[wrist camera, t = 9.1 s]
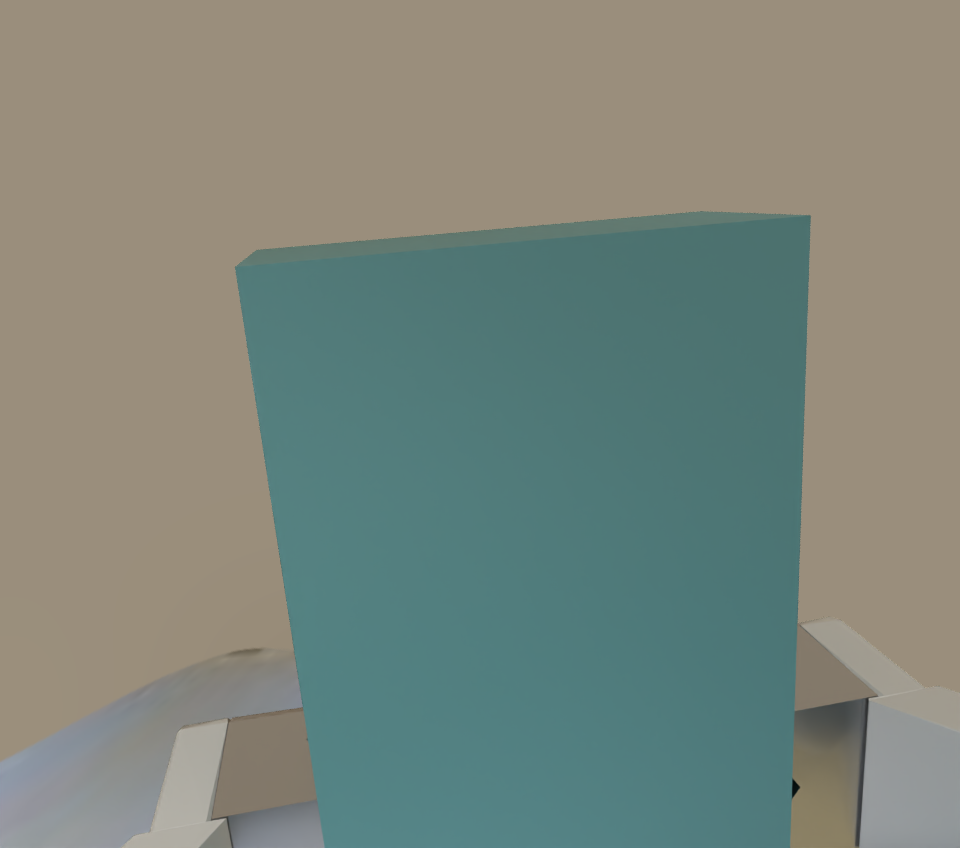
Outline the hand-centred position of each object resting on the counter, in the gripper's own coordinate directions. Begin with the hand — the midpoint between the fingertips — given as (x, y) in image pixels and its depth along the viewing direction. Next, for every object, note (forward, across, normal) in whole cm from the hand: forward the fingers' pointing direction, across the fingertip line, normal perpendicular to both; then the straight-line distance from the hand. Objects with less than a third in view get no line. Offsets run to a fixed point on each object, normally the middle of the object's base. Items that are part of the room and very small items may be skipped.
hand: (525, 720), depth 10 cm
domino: (-1, 0, +6) cm, 7 cm away
